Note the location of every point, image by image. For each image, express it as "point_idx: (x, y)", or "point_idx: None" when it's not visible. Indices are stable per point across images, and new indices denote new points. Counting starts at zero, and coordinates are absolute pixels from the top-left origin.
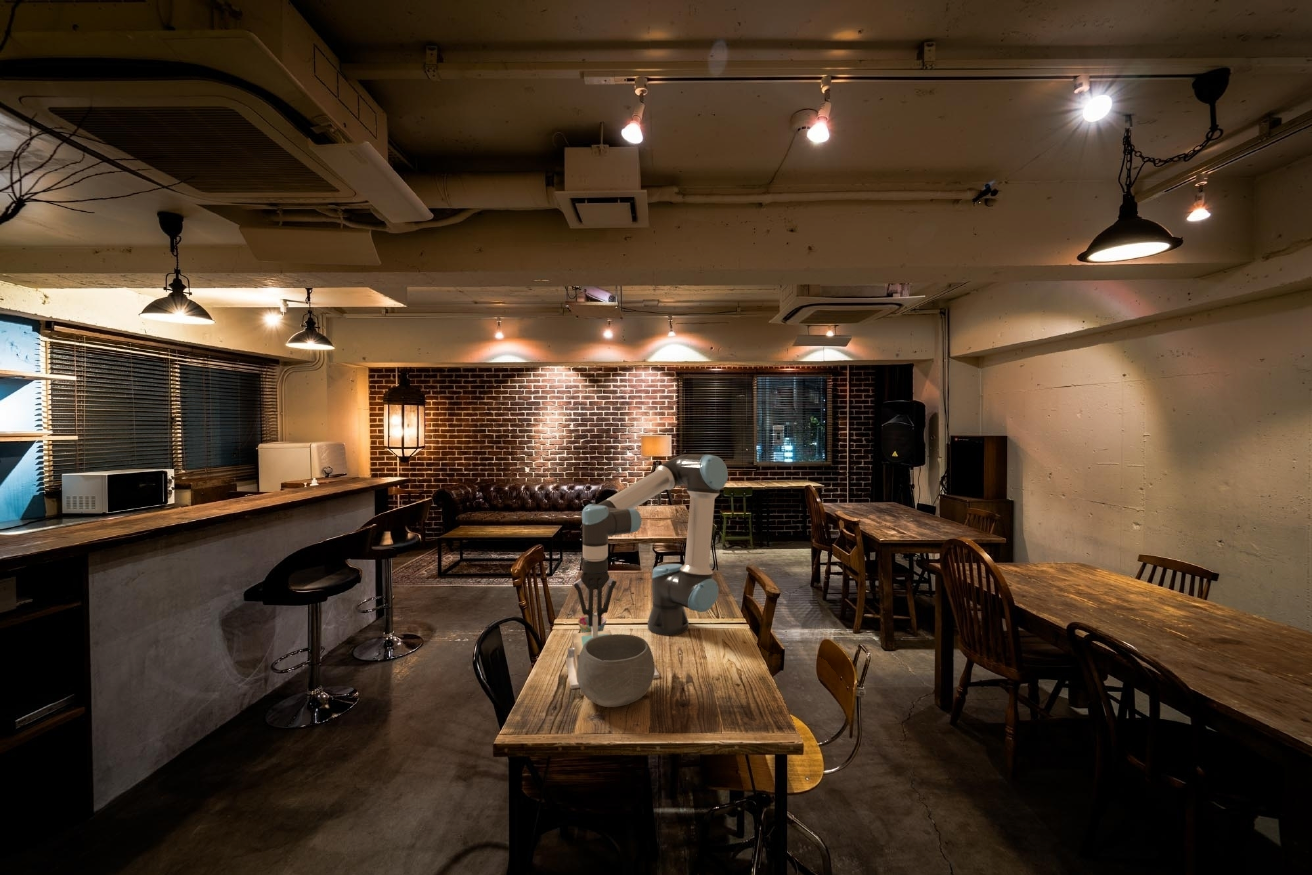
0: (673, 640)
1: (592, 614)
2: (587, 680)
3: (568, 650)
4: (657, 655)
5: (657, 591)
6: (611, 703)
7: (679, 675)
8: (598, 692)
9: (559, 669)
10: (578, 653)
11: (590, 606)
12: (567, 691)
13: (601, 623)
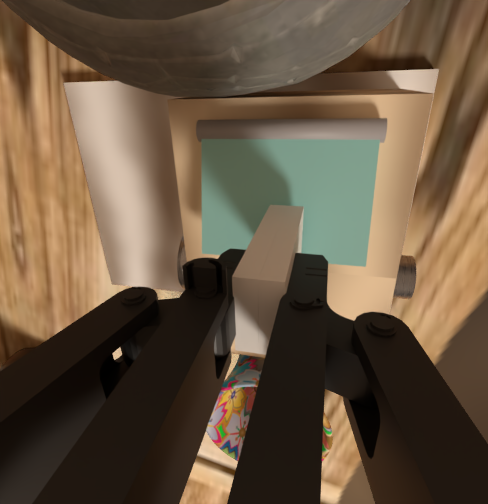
0: (42, 321)
1: (285, 299)
2: None
3: (415, 273)
4: (82, 249)
5: None
6: None
7: (7, 84)
8: None
9: (430, 255)
10: (417, 117)
11: (301, 373)
12: (457, 43)
13: (226, 414)
